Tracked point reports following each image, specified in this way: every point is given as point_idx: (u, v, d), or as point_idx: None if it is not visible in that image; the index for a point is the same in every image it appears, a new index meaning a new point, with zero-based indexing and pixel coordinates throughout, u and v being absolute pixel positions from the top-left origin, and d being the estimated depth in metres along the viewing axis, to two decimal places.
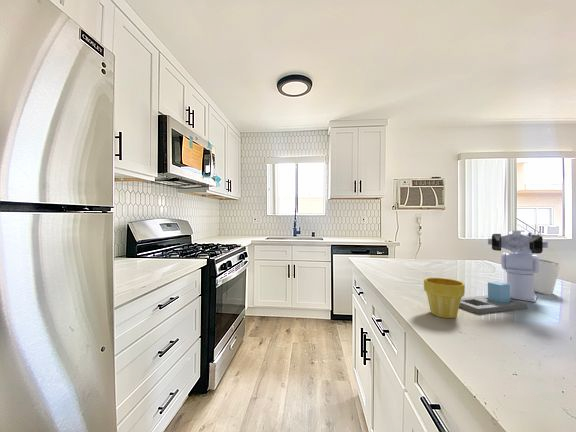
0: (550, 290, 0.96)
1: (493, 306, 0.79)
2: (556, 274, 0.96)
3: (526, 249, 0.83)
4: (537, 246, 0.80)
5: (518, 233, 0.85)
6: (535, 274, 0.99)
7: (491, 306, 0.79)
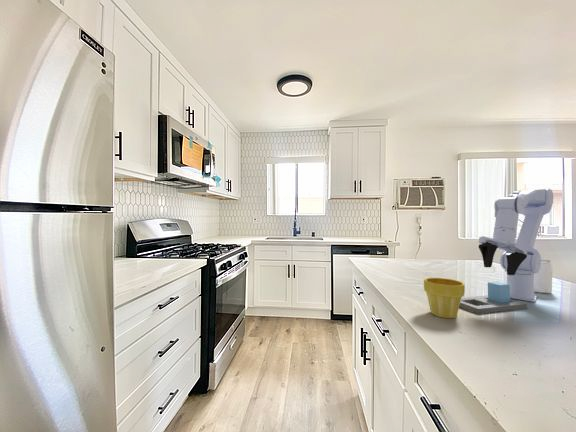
0: (548, 289, 0.97)
1: (493, 306, 0.79)
2: (550, 271, 0.97)
3: None
4: None
5: (512, 245, 0.82)
6: None
7: (491, 306, 0.79)
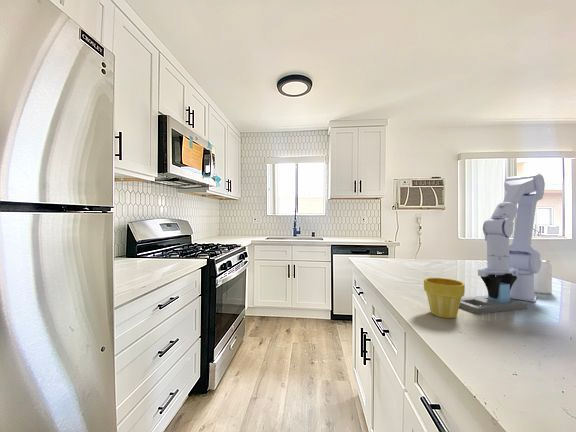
0: (548, 289, 0.97)
1: (493, 306, 0.79)
2: (549, 272, 0.97)
3: None
4: None
5: (509, 272, 0.83)
6: None
7: (491, 306, 0.79)
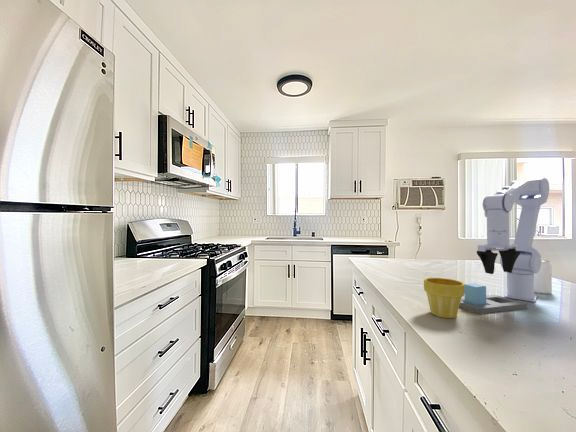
0: (548, 289, 0.97)
1: (493, 306, 0.79)
2: (549, 272, 0.97)
3: None
4: None
5: (509, 247, 0.83)
6: None
7: (491, 306, 0.79)
